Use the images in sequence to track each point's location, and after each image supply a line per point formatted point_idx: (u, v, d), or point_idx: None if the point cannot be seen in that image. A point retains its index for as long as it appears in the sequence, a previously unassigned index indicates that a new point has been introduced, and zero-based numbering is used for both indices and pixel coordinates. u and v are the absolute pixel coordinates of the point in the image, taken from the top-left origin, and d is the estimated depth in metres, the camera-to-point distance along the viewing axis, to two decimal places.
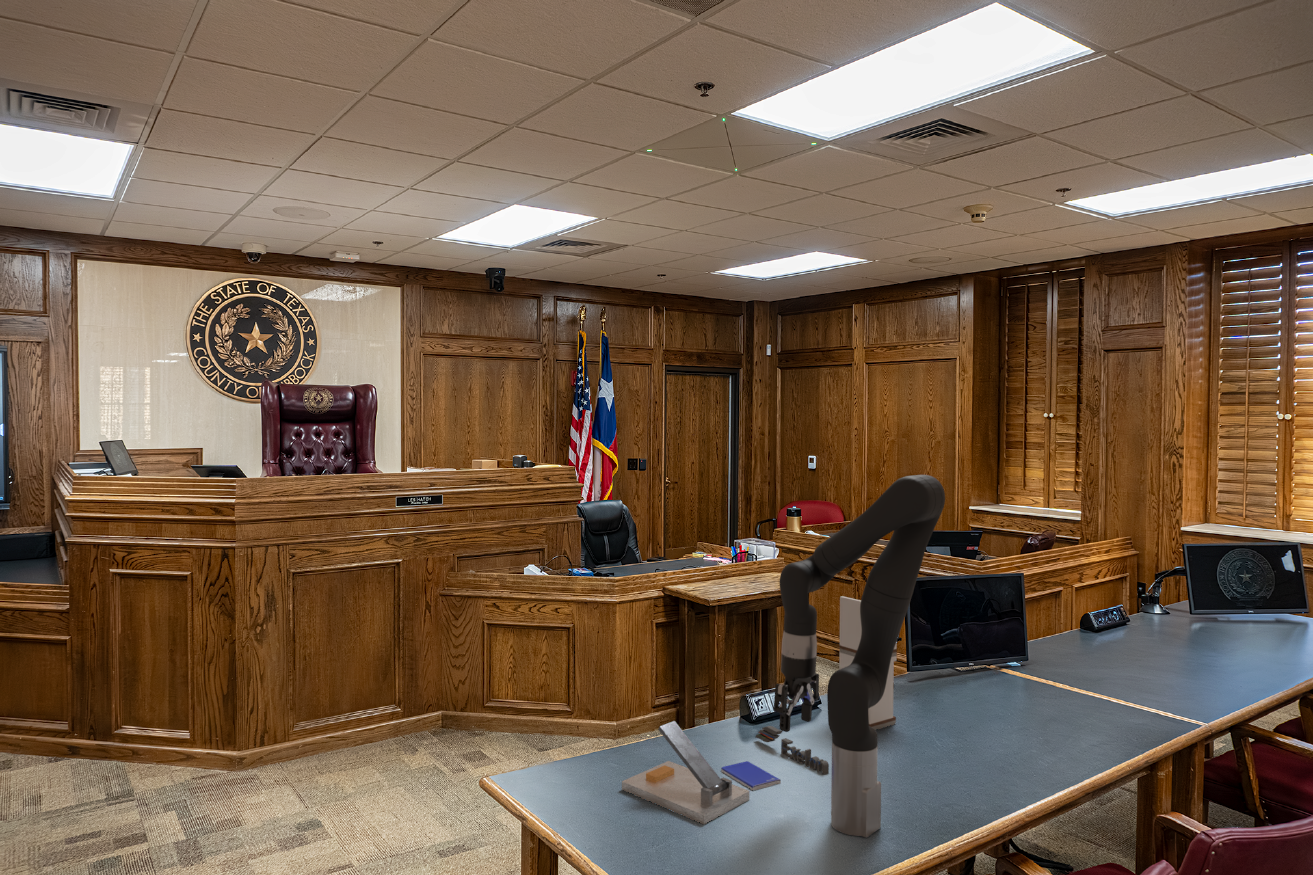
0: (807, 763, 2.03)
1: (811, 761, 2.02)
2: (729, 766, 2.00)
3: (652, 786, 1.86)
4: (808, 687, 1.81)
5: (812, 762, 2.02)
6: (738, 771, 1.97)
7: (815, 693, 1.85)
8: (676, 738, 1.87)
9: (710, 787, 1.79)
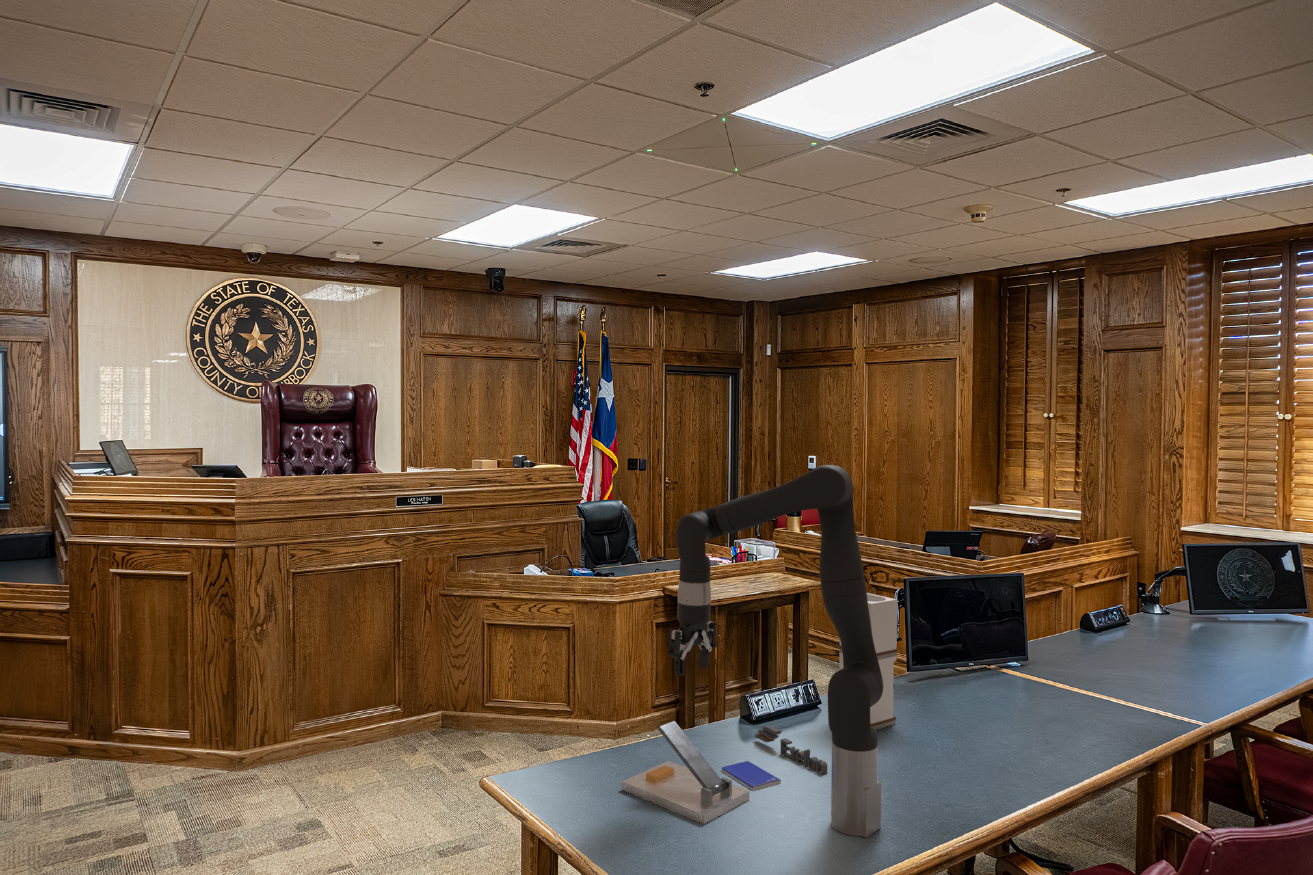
0: (806, 763, 2.03)
1: (810, 761, 2.02)
2: (729, 766, 2.00)
3: (652, 786, 1.86)
4: (703, 634, 1.88)
5: (811, 762, 2.02)
6: (738, 771, 1.97)
7: (713, 641, 1.92)
8: (676, 738, 1.87)
9: (710, 787, 1.79)
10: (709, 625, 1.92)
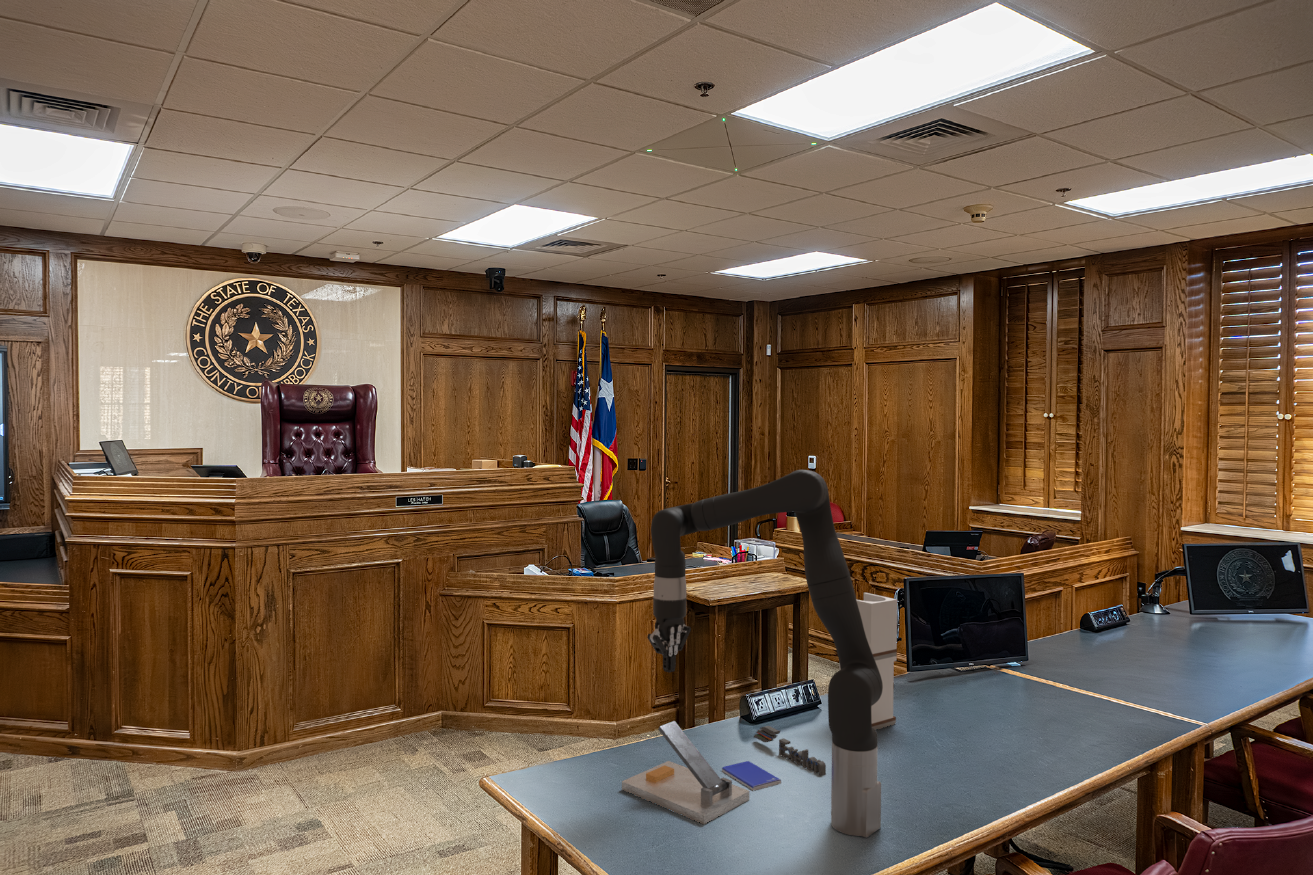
0: (804, 763, 2.03)
1: (808, 761, 2.01)
2: (730, 766, 2.00)
3: (652, 786, 1.86)
4: (679, 629, 1.89)
5: (809, 762, 2.02)
6: (738, 771, 1.97)
7: (680, 643, 1.91)
8: (676, 738, 1.87)
9: (710, 787, 1.79)
10: (684, 626, 1.93)
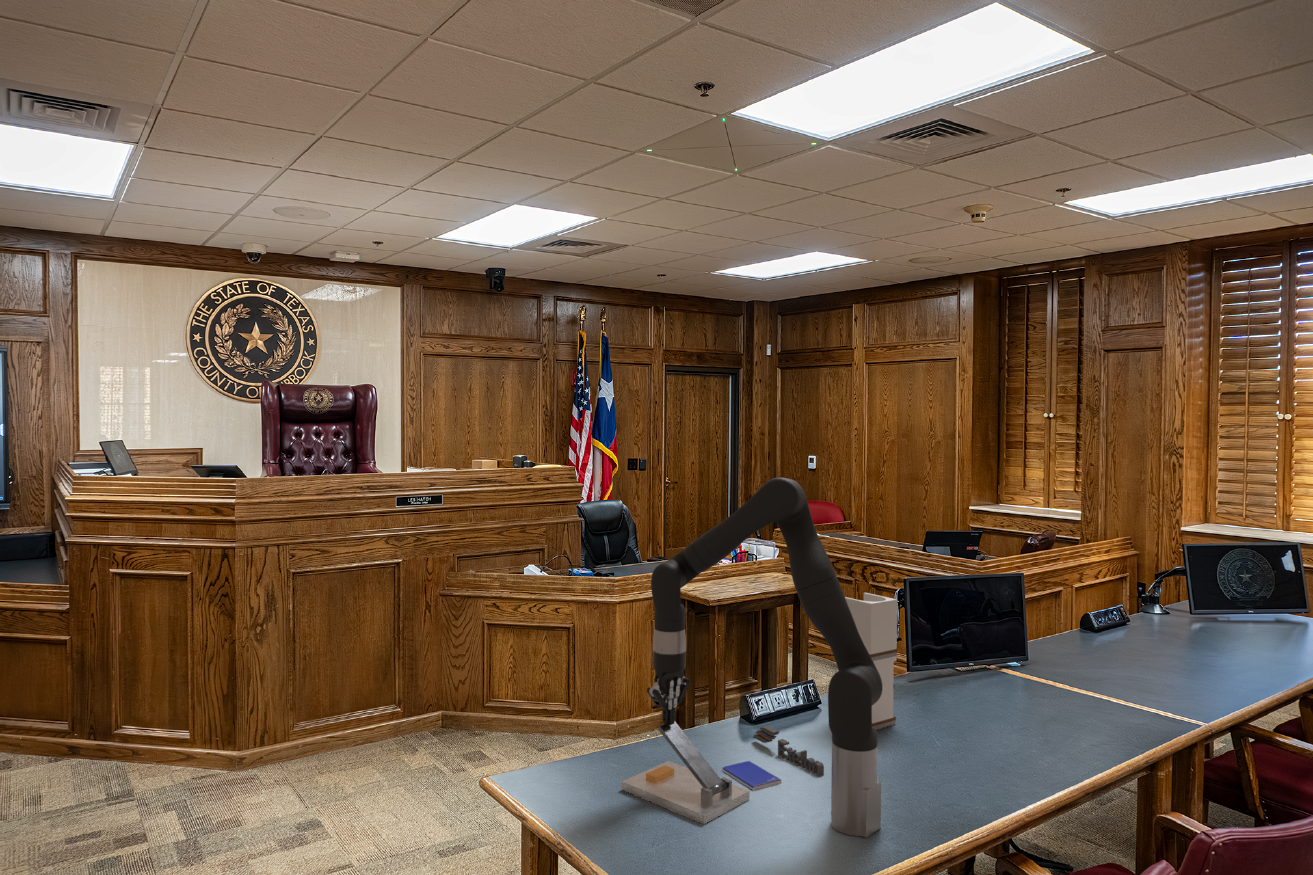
0: (803, 764, 2.02)
1: (806, 762, 2.01)
2: (730, 766, 2.00)
3: (652, 786, 1.86)
4: (678, 682, 1.89)
5: (808, 763, 2.01)
6: (739, 771, 1.97)
7: (680, 695, 1.91)
8: (676, 738, 1.87)
9: (710, 787, 1.79)
10: (684, 678, 1.93)
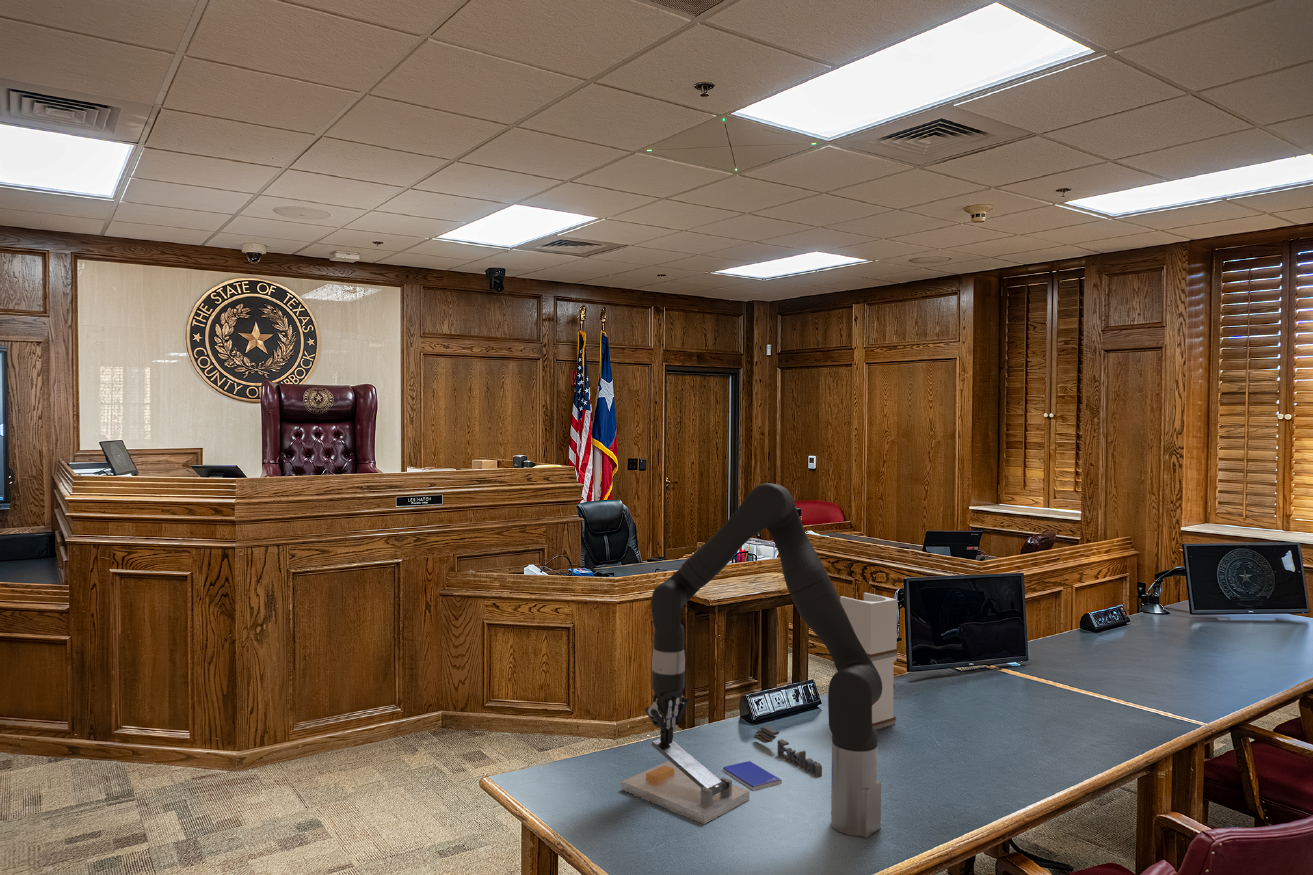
0: (801, 765, 2.02)
1: (805, 763, 2.01)
2: (731, 766, 2.00)
3: (652, 786, 1.86)
4: (677, 701, 1.89)
5: (806, 764, 2.01)
6: (739, 771, 1.97)
7: (678, 714, 1.91)
8: (670, 749, 1.88)
9: (709, 787, 1.79)
10: (682, 698, 1.93)
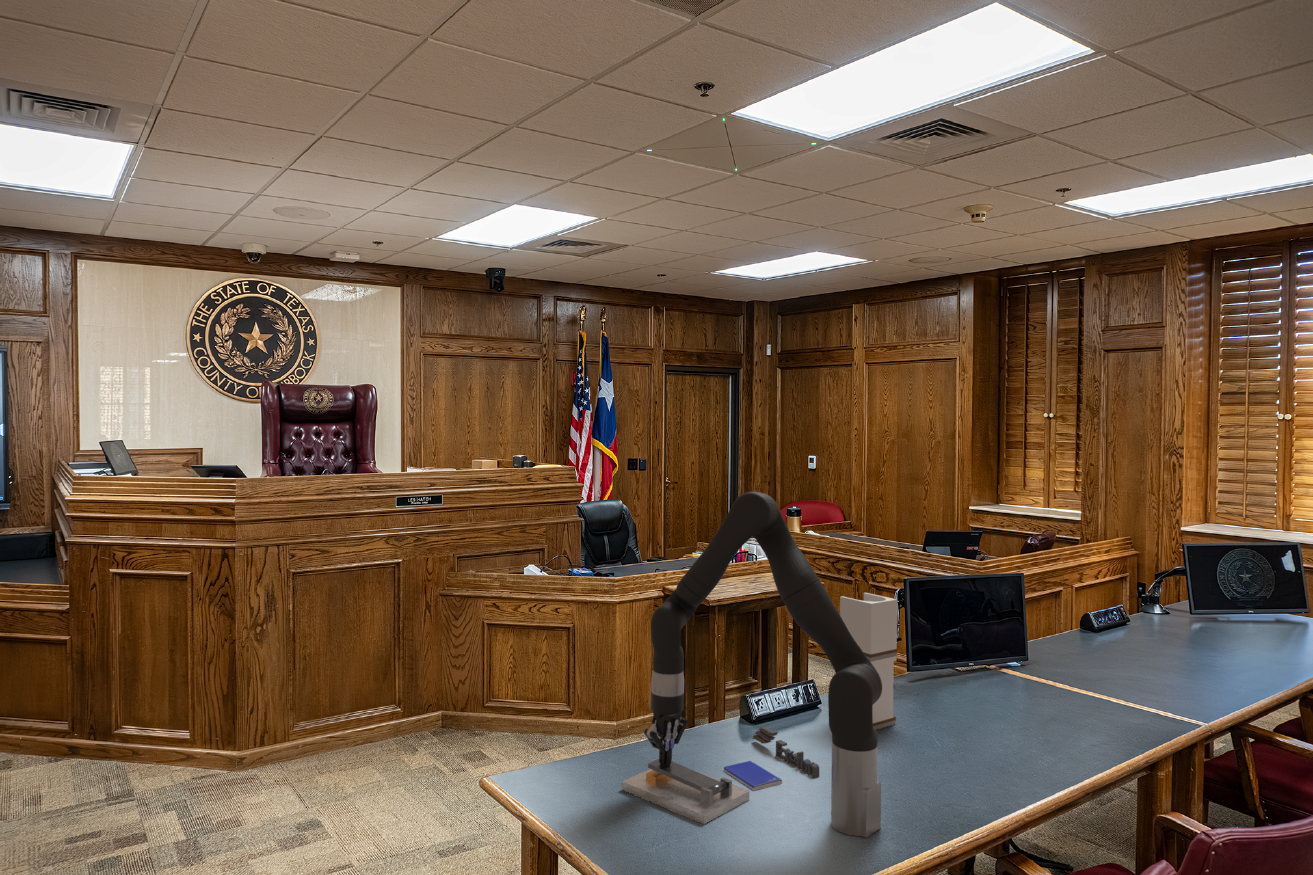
0: (799, 766, 2.02)
1: (803, 764, 2.00)
2: (731, 766, 2.00)
3: (652, 786, 1.86)
4: (676, 723, 1.90)
5: (804, 765, 2.01)
6: (740, 771, 1.97)
7: (677, 736, 1.92)
8: (666, 767, 1.89)
9: (708, 787, 1.79)
10: (681, 719, 1.93)
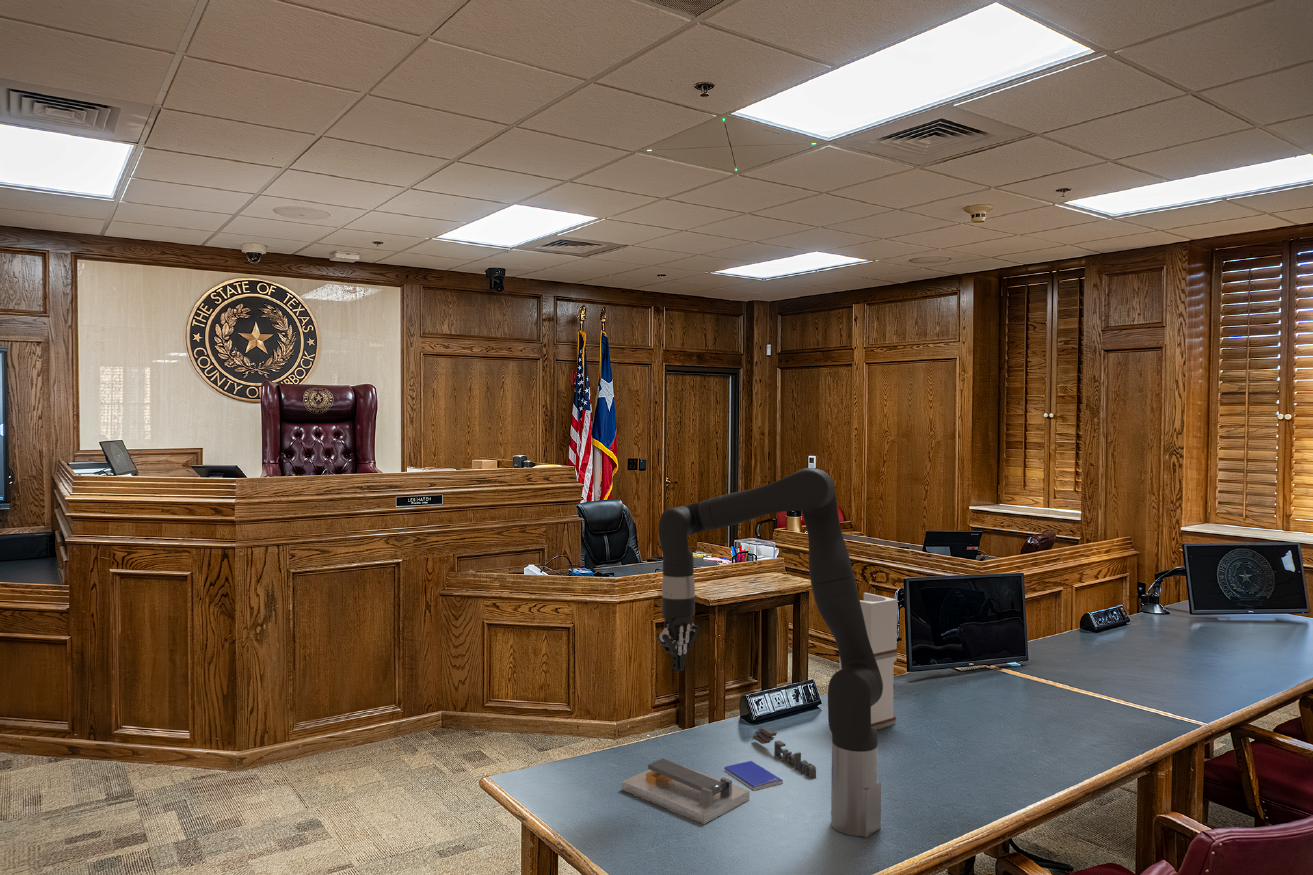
0: (796, 766, 2.01)
1: (800, 765, 2.00)
2: (732, 766, 2.00)
3: (652, 786, 1.86)
4: (688, 628, 1.89)
5: (801, 766, 2.00)
6: (740, 771, 1.97)
7: (689, 642, 1.91)
8: (666, 767, 1.89)
9: (708, 787, 1.79)
10: (693, 625, 1.93)
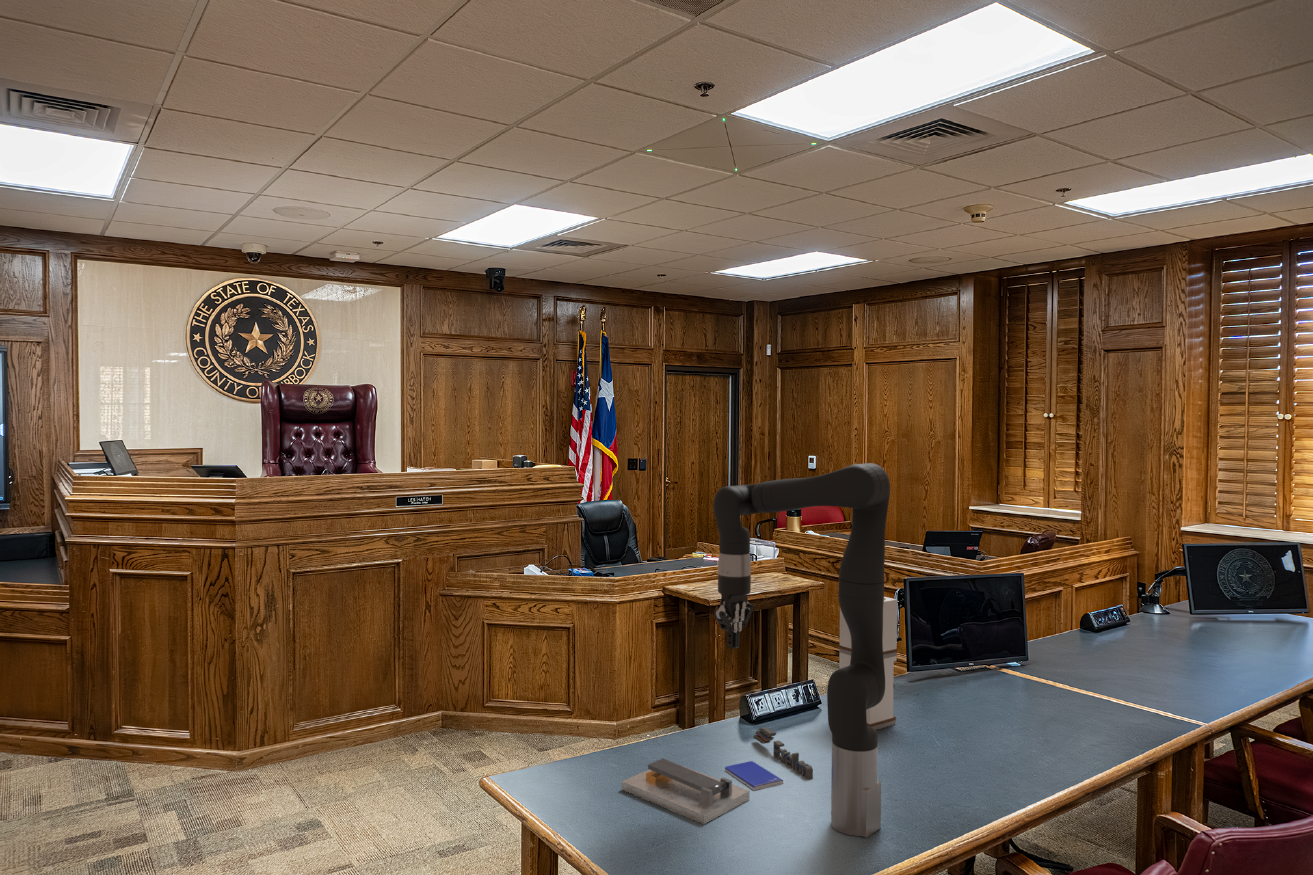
0: (794, 767, 2.01)
1: (797, 765, 2.00)
2: (733, 766, 2.00)
3: (652, 786, 1.86)
4: (743, 605, 1.90)
5: (798, 766, 2.00)
6: (741, 771, 1.97)
7: (744, 619, 1.92)
8: (666, 767, 1.89)
9: (708, 787, 1.79)
10: (747, 604, 1.94)
